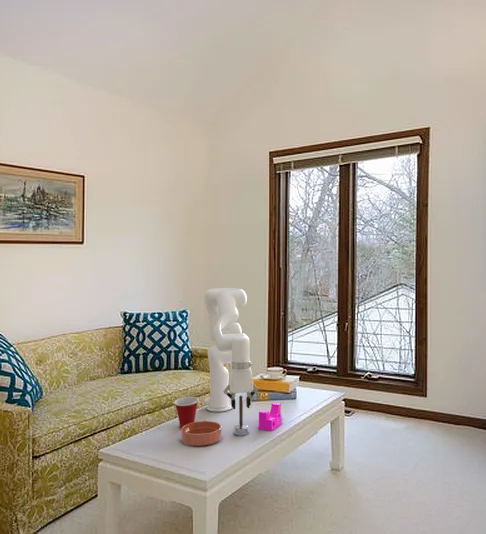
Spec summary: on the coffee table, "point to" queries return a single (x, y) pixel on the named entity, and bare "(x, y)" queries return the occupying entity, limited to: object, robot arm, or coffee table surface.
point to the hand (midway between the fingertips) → (240, 407)
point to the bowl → (201, 433)
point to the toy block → (270, 417)
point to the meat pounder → (241, 421)
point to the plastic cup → (186, 409)
